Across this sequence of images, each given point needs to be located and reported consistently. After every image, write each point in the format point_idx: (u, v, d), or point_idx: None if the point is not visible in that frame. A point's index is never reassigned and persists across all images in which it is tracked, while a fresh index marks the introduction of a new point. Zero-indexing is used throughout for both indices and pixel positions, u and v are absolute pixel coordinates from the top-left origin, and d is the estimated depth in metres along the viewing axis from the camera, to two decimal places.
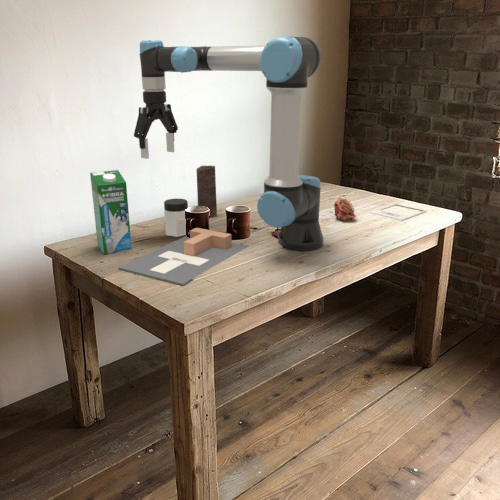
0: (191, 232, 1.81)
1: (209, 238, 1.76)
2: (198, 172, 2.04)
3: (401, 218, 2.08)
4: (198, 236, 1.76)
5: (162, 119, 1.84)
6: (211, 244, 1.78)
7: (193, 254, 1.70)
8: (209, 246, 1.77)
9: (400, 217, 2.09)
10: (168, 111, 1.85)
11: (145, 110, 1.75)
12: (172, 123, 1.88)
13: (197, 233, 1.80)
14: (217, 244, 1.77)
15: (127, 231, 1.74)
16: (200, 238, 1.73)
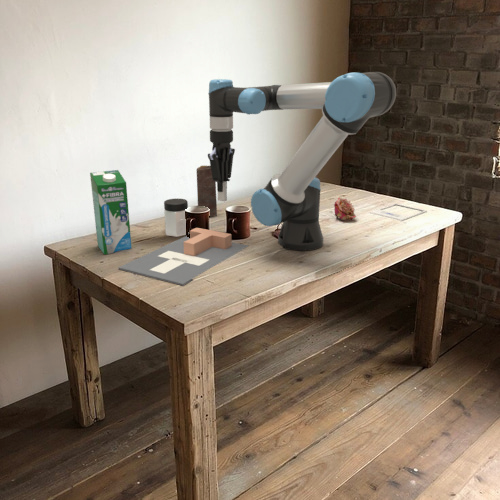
0: (191, 232, 1.81)
1: (209, 238, 1.76)
2: (198, 172, 2.04)
3: (401, 218, 2.08)
4: (198, 236, 1.76)
5: None
6: (211, 244, 1.78)
7: (193, 254, 1.70)
8: (209, 246, 1.77)
9: (400, 217, 2.09)
10: (230, 154, 1.81)
11: (215, 157, 1.72)
12: (228, 168, 1.82)
13: (197, 233, 1.80)
14: (217, 244, 1.77)
15: (127, 231, 1.74)
16: (200, 238, 1.73)
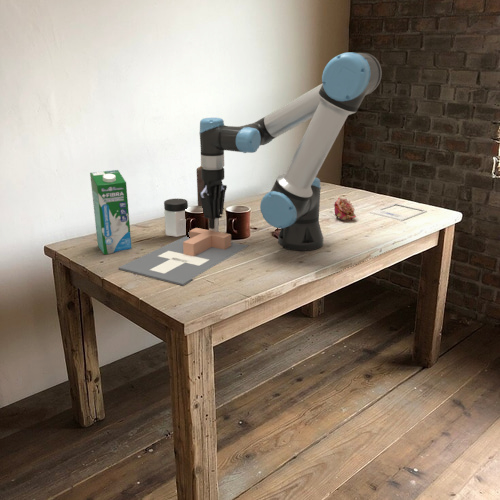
0: (191, 232, 1.81)
1: (209, 238, 1.76)
2: (198, 172, 2.04)
3: (401, 218, 2.08)
4: (198, 236, 1.76)
5: None
6: (211, 244, 1.77)
7: (193, 254, 1.70)
8: (209, 246, 1.77)
9: (400, 217, 2.09)
10: (222, 191, 1.80)
11: (206, 195, 1.72)
12: (220, 205, 1.81)
13: (197, 233, 1.80)
14: (217, 244, 1.77)
15: (127, 231, 1.74)
16: (200, 239, 1.73)
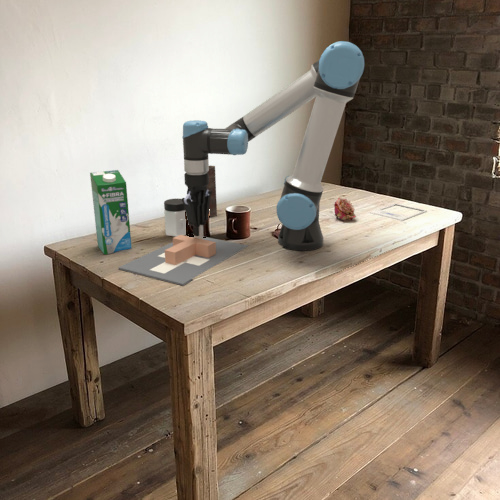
0: (174, 239, 1.74)
1: (192, 246, 1.69)
2: None
3: (401, 218, 2.08)
4: (181, 244, 1.69)
5: None
6: (194, 252, 1.71)
7: (174, 263, 1.63)
8: (192, 254, 1.70)
9: (400, 217, 2.09)
10: (207, 197, 1.73)
11: (189, 201, 1.65)
12: (205, 211, 1.74)
13: (180, 241, 1.73)
14: (201, 252, 1.70)
15: (127, 231, 1.74)
16: (183, 247, 1.66)
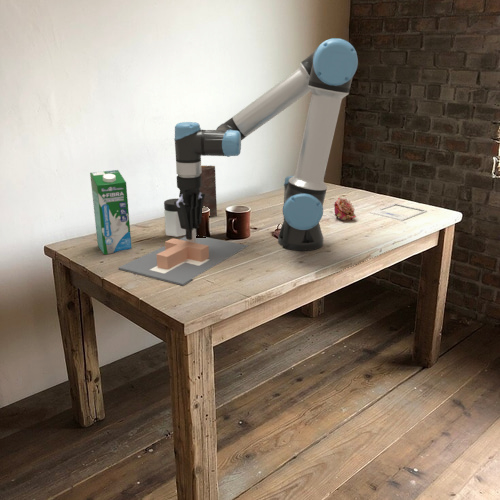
0: (166, 243, 1.71)
1: (185, 250, 1.66)
2: None
3: (401, 218, 2.08)
4: (173, 248, 1.65)
5: None
6: (187, 256, 1.67)
7: (167, 267, 1.60)
8: (185, 258, 1.67)
9: (400, 217, 2.09)
10: (200, 200, 1.70)
11: (182, 205, 1.62)
12: (198, 214, 1.71)
13: (173, 244, 1.70)
14: (193, 256, 1.67)
15: (127, 231, 1.74)
16: (175, 250, 1.63)
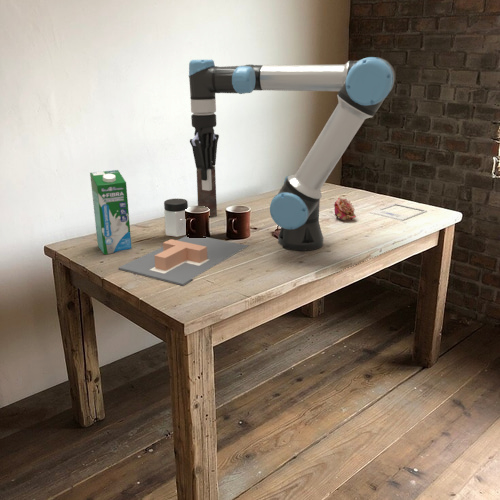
0: (164, 244, 1.70)
1: (183, 251, 1.65)
2: (198, 172, 2.04)
3: (401, 218, 2.08)
4: (171, 249, 1.65)
5: None
6: (185, 257, 1.66)
7: (165, 268, 1.59)
8: (183, 259, 1.66)
9: (400, 217, 2.09)
10: (214, 140, 1.70)
11: (197, 142, 1.61)
12: (212, 155, 1.71)
13: (171, 245, 1.69)
14: (192, 257, 1.66)
15: (127, 231, 1.74)
16: (173, 252, 1.62)
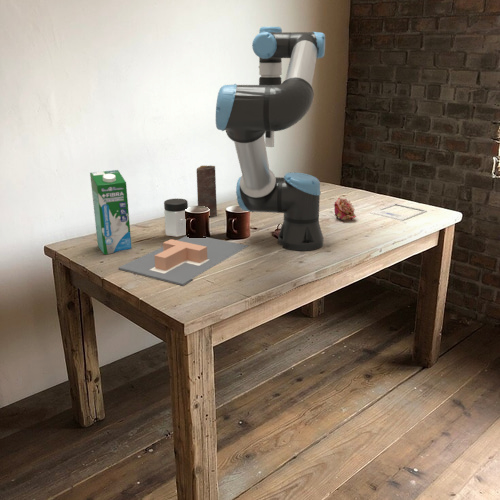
0: (164, 244, 1.70)
1: (183, 251, 1.65)
2: (198, 172, 2.04)
3: (402, 218, 2.08)
4: (171, 249, 1.65)
5: None
6: (185, 257, 1.66)
7: (165, 268, 1.59)
8: (183, 259, 1.66)
9: (400, 217, 2.09)
10: None
11: None
12: None
13: (171, 245, 1.69)
14: (192, 257, 1.66)
15: (127, 231, 1.74)
16: (173, 252, 1.62)
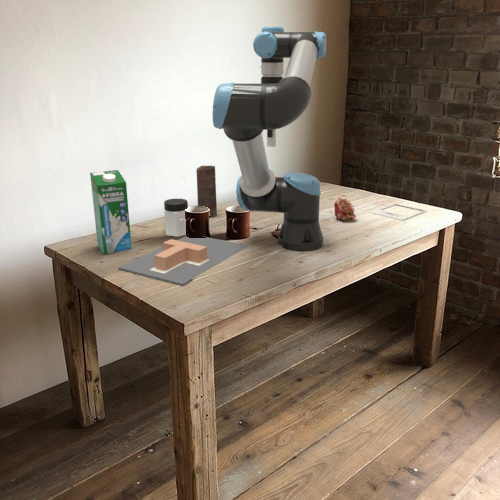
0: (164, 244, 1.70)
1: (183, 251, 1.65)
2: (198, 172, 2.04)
3: (402, 218, 2.08)
4: (171, 249, 1.65)
5: None
6: (185, 257, 1.66)
7: (165, 268, 1.59)
8: (183, 259, 1.66)
9: (401, 217, 2.09)
10: None
11: None
12: None
13: (171, 245, 1.69)
14: (192, 257, 1.66)
15: (127, 231, 1.74)
16: (173, 252, 1.62)
